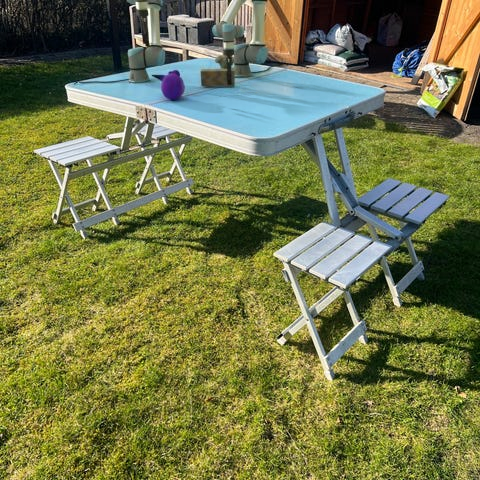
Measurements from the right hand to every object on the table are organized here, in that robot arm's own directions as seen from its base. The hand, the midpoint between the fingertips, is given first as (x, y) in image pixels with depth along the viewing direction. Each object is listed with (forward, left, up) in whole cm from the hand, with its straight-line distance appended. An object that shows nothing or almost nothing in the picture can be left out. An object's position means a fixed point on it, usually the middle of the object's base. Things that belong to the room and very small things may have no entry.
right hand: (229, 83), depth 316 cm
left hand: (+45, -32, +27) cm, 61 cm away
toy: (+49, -1, -2) cm, 49 cm away
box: (+6, -6, -1) cm, 8 cm away
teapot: (-45, -57, -2) cm, 72 cm away
